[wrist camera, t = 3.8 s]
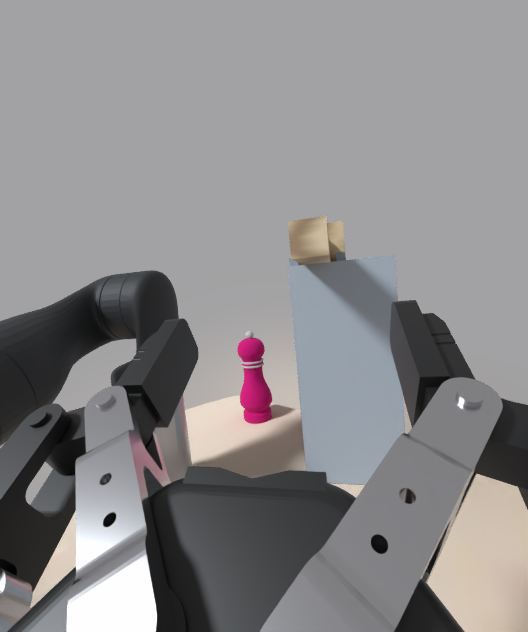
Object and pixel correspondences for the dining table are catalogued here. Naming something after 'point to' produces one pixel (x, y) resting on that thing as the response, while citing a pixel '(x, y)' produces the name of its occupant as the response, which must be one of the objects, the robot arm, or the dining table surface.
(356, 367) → the stand
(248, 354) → the pepper mill
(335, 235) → the t key
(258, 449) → the dining table surface
